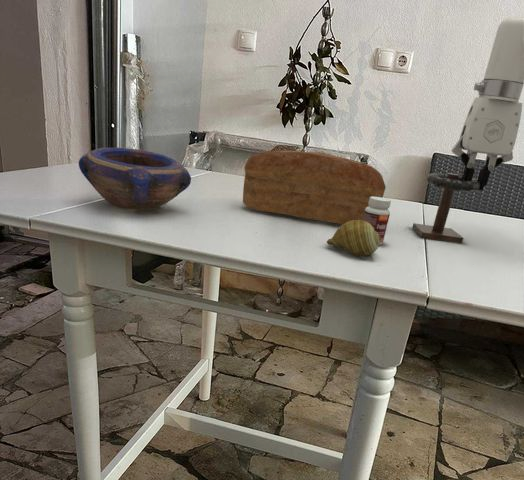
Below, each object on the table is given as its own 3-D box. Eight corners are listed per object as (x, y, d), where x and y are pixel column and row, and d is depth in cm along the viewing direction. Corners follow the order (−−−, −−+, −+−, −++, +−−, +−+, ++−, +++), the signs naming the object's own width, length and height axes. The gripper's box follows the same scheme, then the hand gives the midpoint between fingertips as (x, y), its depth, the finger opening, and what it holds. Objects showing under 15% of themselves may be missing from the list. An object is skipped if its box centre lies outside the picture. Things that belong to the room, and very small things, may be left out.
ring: (468, 185, 113) (471, 176, 112) (485, 194, 103) (488, 184, 103) (420, 180, 113) (422, 170, 112) (432, 188, 103) (435, 178, 102)
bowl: (129, 222, 89) (130, 163, 85) (68, 200, 98) (66, 145, 94) (199, 213, 103) (203, 161, 98) (140, 195, 112) (141, 146, 107)
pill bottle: (376, 246, 96) (386, 202, 93) (354, 240, 99) (363, 196, 95) (386, 243, 100) (397, 200, 96) (365, 237, 102) (374, 195, 99)
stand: (450, 233, 117) (467, 174, 111) (462, 243, 109) (481, 180, 103) (412, 228, 117) (427, 168, 111) (421, 237, 109) (438, 174, 103)
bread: (247, 201, 121) (254, 141, 115) (376, 223, 117) (390, 161, 111) (234, 209, 110) (241, 143, 104) (376, 234, 106) (391, 167, 100)
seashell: (327, 269, 93) (320, 241, 86) (333, 239, 96) (327, 210, 89) (381, 271, 90) (378, 242, 83) (385, 240, 93) (383, 209, 86)
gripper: (466, 86, 97) (439, 186, 105) (548, 97, 97) (516, 196, 105) (454, 87, 103) (430, 181, 111) (532, 98, 103) (502, 190, 112)
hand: (472, 187), depth 108 cm, fingers closed on ring, 2 cm apart
